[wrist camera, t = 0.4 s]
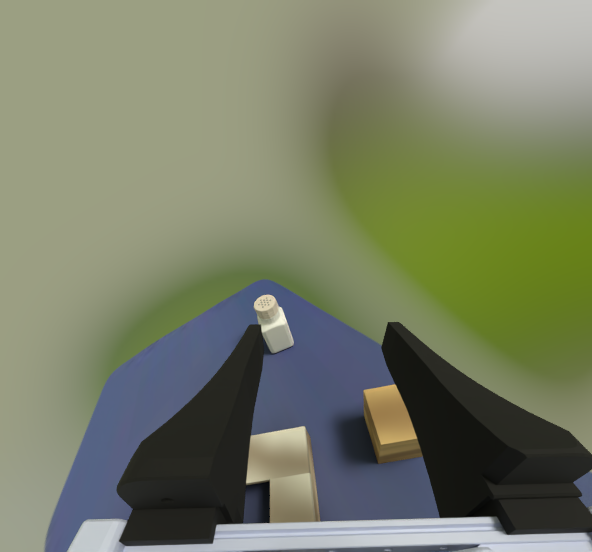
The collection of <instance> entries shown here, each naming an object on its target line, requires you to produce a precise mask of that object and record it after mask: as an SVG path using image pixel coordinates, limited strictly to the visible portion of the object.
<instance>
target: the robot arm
mask: <svg viewBox="0 0 592 552" xmlns="http://www.w3.org/2000/svg"><path fill="white" fill-rule="evenodd" d="M381 348H382V352H383V355H384V358H385V361H386V364H387V367H388V369H389V371H390V374H391V376H392V378H393V380H394V382H395V385H396V387H397V389H398V391H399V393H400V395H401V398H402V400H403V402H404V404H405V406H406V409H407V411H408V414H409V417H410V419H411V422H412V425H413V428H414V431H415V434H416V437H417V440H418V443H419V446H420V449H421V452H422V455H423V458H424V462H425V465H426V468H427V472H428V475H429V478H430V482H431V486H432V489H433V493H434V497H435V500H436V504H437V508H438V512H439V516H440V518H429V519H394V520H359V521H324V522H289V523H254V524H242V523H243V516H244V504H245V491H246V480H247V469H248V458H249V448H250V438H251V429H252V420H253V413H254V407H255V402H256V397H257V392H258V387H259V382H260V377H261V372H262V365H263V354H264V347H263V338H262V329H261V324H258V325H249V326H248V328H247V330H246V332H245V333H244V335H243V337H242V338H241V340H240V341H239V343H238V345H237V346H236V347H235V349H234V350H233V352H232V353H231V355H230V356H229V357H228V359H227V360H226V361H225V363H224V364H223V365H222V367H221V368H220V369H219V370H218V372H217V373H216V374H215V375H214V376H213V378H212V379H211V380H210V381H209V382H208V383H207V384H206V385H205V386H204V387H203V388H202V389H201V391H200V392H199V393H198V394H197V395H196V396H195V397H194V398H193V399H192V400H191V401H190V402H189V403H187V404H186V405H185V406H184V407H183V408H182V409H181V410H180V411H179V412H177V413H176V414H175V415H174V416H173V417H172V418H171V419H170V420H168V421H167V422H166V423H165V424H163V425H162V426H161V427H160V428H158V429H157V430H156V431H155V432H153V433H152V434H151V435H150V436H148V437H147V438H146V439H145V440H143V441H142V442H141V444H140V445H139V447H138V449H137V450H136V452H135V453H134V455H133V457H132V458H131V460H130V462H129V464H128V466H127V468H126V470H125V472H124V474H123V476H122V477H121V479H120V481H119V483H118V485H117V493H118V495H119V496H120V497H121V498H122V499H123V500H124V501H125V502H126V503H127V504H128V505H129V506H130V507H131V508H133V510H132V512H131V515H130V517H129V519H128V521H126V520H122V519H95V520H86V521H85V522H83V524H82V526H81V527H80V529H79V531H78V533H77V535H76V536H75V538H74V540H73V542H72V544H71V545H70V547H69V549H68V551H67V552H428V551H453V552H592V506H591V507H587V508H586V506H585V505H584V504H583V503H582V502H581V500H580V499H579V498H578V497H581V496H582V493H581V492H580V490H579V489H578V488H577V487H576V486H575V484H574V483H573V482H574V481H575V480H577V479H578V478H580V477H581V476H583V475H585V474H586V473H588V472H589V471H590V470H591V469H592V454H591V453H590V452H589V451H588V450H587V449H586V448H585V447H584V446H583V445H582V444H581V443H580V442H579V441H578V440H577V439H576V438H575V437H574V436H573V435H572V434H571V433H570V432H569V431H567V430H565V429H563V428H561V427H559V426H557V425H554V424H553V423H550V422H548V421H546V420H544V419H542V418H540V417H538V416H536V415H534V414H532V413H529V412H528V411H526V410H524V409H522V408H520V407H518V406H516V405H514V404H513V403H511V402H509V401H507V400H505V399H504V398H502V397H500V396H498V395H497V394H495V393H493V392H492V391H490V390H488V389H487V388H485V387H483V386H482V385H480V384H478V383H477V382H475V381H474V380H472V379H471V378H469V377H467V376H466V375H465V374H463V373H462V372H460V371H459V370H457V369H456V368H455V367H453V366H452V365H450V364H449V363H448V362H447V361H445V360H444V359H442V358H441V357H440V356H439V355H437V354H436V353H435V352H433V351H432V350H431V349H430V348H429V347H427V346H426V345H425V344H424V343H423V342H421V341H420V340H419V339H418V338H417V337H416V336H415V335H413V334H412V333H411V332H410V331H409V330H408V329H406V328H405V327H404V326H403V325H402V324H401V323H399V322H388V325H387V328H386V332H385V336H384V340H383V344H382V347H381Z"/></svg>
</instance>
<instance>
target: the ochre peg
mask: <svg viewBox="0 0 592 552" xmlns="http://www.w3.org/2000/svg"><path fill="white" fill-rule="evenodd" d="M364 417H365V421H366V424H367V427H368V431H369V434H370V437H371V441H372V444H373V447H374V451H375V454H376V457H377V461H378V464H380V463H386V462H392V461H398V460H404V459H410V458H416V457H422V456H423V455H422V452H421V449H420V446H419V443H418V440H417V437H416V434H415V431H414V428H413V425H412V422H411V419H410V417H409V414H408V411H407V409H406V406H405V404H404V402H403V400H402V398H401V395H400V393H399V391H398V389H397V387H396V385H389V386H384V387H379V388H373V389H368V390H364Z"/></svg>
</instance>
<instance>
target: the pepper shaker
mask: <svg viewBox="0 0 592 552" xmlns="http://www.w3.org/2000/svg"><path fill="white" fill-rule="evenodd" d="M254 308H255V310H256V312H257V315H258V316H257V318H258V323H259V324H261V329H262V335H263V337H264V339H265V341H266V343H267V345H268V347H269V349H270V351H271V352H272V353H277V352H279V351H282V350H284V349H287V348H289V347H291V346H293V344H294V341H293V338H292V335H291V332H290V329H289V327H288V324H287V321H286V318H285V316H284V313H283V310H282V308H281V307H278V305H277V301H276V299H275V298H274V297H273V296H272V295H263V296H261V297H259V298H258V299H257V300H256V301H255V302H254Z"/></svg>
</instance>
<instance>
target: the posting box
mask: <svg viewBox="0 0 592 552" xmlns="http://www.w3.org/2000/svg"><path fill="white" fill-rule="evenodd" d="M269 481H270V523H289V522H320V514H319V506H318V498H317V489H316V481H315V473H314V464H313V456H312V448H311V439H310V436H309V434H308V432H307V430H306V428H305V426H303V427H297V428H292V429H286V430H281V431H275V432H270V433H264V434H258V435H253V436H251V438H250V448H249V458H248V469H247V480H246V485H251V484H257V483H263V482H269Z"/></svg>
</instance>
